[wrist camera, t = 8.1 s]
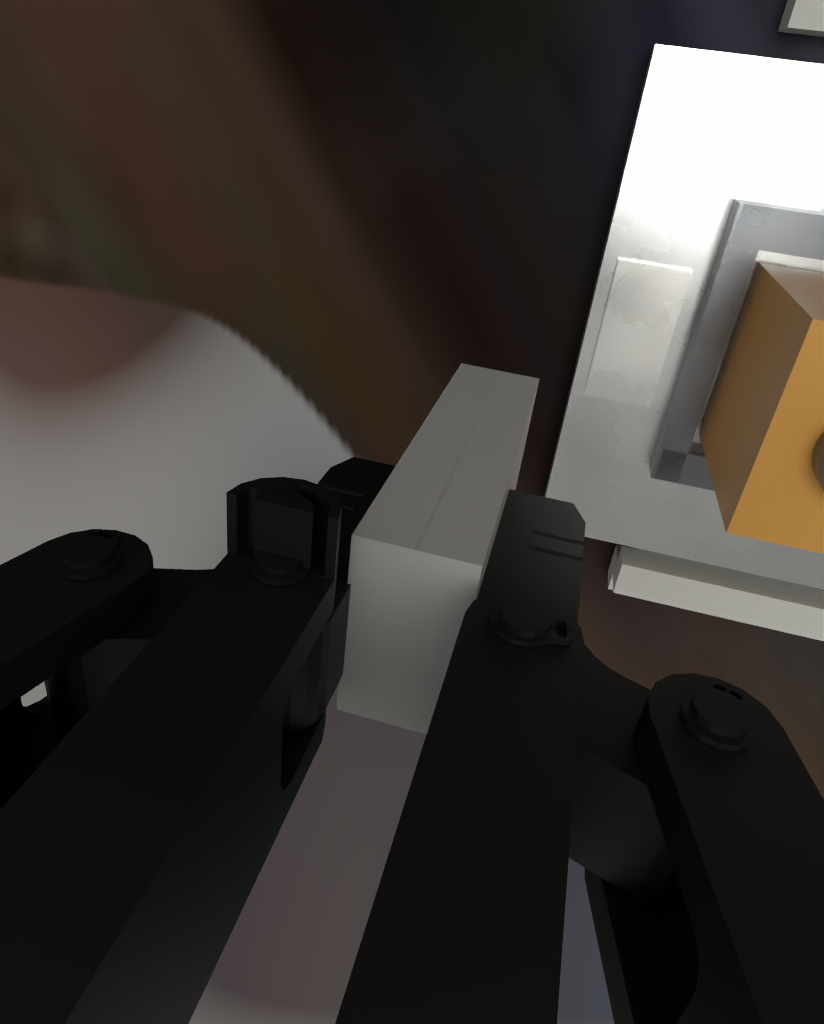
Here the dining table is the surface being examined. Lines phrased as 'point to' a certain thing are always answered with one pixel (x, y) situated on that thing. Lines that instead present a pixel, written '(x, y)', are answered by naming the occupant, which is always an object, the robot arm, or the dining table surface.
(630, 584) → the long thin grey slat
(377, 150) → the dining table surface
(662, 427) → the panel
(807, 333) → the block
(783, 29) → the grey long flat bar
